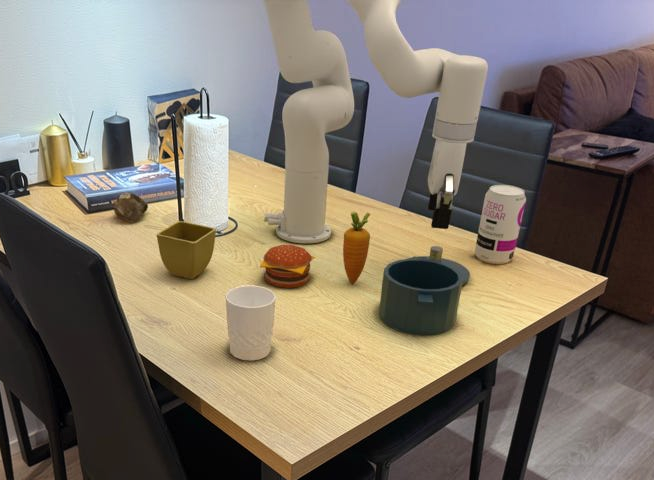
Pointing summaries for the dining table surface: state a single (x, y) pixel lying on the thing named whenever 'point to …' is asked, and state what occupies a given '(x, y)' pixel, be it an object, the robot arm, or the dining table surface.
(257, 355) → the white cup
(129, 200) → the fossilized seashell
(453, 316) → the pot
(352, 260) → the carrot
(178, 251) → the flower pot
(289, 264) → the hamburger
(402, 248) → the dining table surface
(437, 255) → the pot lid
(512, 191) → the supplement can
